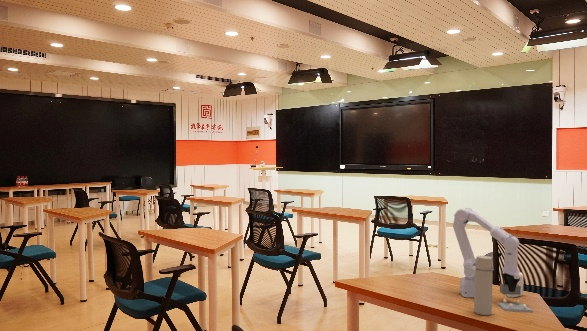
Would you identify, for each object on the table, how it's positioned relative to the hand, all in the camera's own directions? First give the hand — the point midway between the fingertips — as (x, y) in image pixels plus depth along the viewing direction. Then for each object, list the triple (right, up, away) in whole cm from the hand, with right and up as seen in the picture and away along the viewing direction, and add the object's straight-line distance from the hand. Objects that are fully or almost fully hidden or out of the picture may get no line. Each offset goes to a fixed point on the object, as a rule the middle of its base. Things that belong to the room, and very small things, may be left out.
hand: (510, 290), depth 211 cm
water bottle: (-19, -6, -15) cm, 25 cm away
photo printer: (+9, -7, +13) cm, 17 cm away
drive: (0, -1, 0) cm, 1 cm away
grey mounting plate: (-2, -6, -7) cm, 10 cm away
